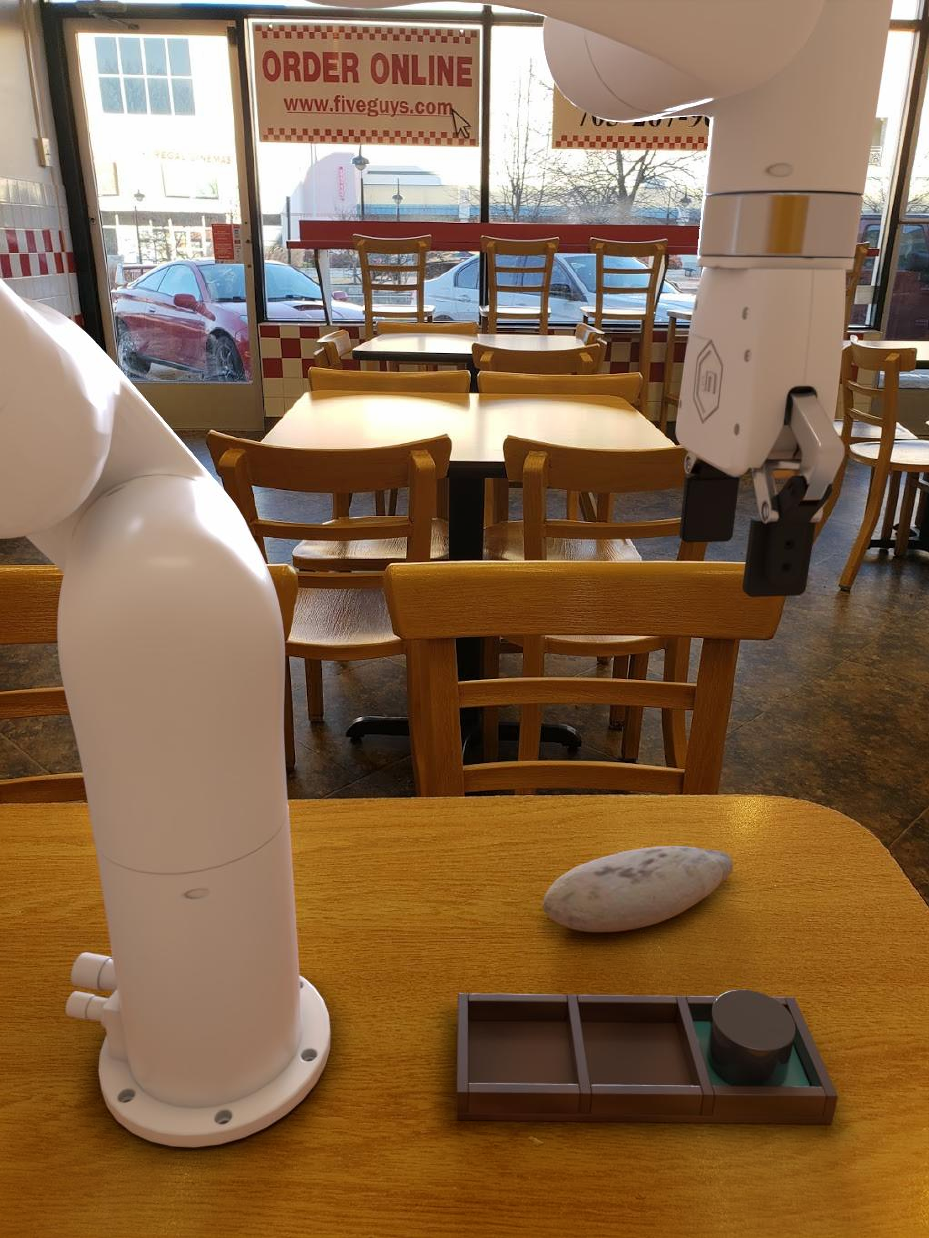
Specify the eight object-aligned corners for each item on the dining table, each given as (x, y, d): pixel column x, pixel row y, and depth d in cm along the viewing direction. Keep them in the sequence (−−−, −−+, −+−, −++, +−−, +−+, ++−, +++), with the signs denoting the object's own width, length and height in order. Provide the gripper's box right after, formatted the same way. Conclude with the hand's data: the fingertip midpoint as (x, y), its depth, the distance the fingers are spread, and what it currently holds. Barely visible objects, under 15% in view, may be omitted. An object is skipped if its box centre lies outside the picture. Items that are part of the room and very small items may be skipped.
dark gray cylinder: (706, 1084, 51) (712, 1041, 50) (705, 1023, 55) (711, 983, 54) (791, 1100, 50) (799, 1057, 49) (784, 1037, 54) (791, 996, 53)
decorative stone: (754, 899, 67) (760, 858, 66) (570, 966, 60) (573, 922, 59) (697, 853, 72) (702, 814, 71) (522, 910, 65) (524, 869, 64)
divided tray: (789, 1023, 56) (794, 996, 55) (832, 1124, 49) (838, 1096, 49) (457, 1019, 56) (457, 992, 55) (456, 1120, 49) (456, 1091, 49)
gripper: (650, 239, 54) (628, 525, 61) (779, 233, 38) (731, 623, 45) (774, 241, 55) (740, 523, 61) (950, 236, 39) (880, 618, 45)
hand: (736, 565), depth 53 cm, fingers open, 9 cm apart
